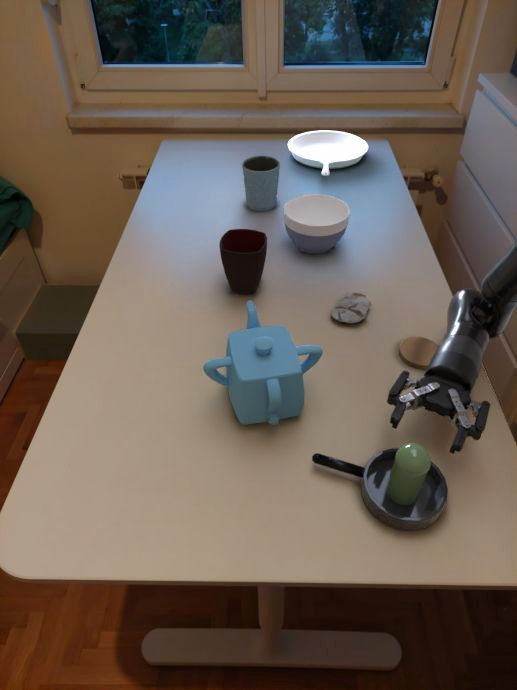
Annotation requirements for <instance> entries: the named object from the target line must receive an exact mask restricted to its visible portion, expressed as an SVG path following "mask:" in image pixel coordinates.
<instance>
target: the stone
mask: <svg viewBox="0 0 517 690" xmlns="http://www.w3.org/2000/svg"><path fill="white" fill-rule="evenodd" d="M371 306H372V302H371V300H370V299H369V298H368V297H367V295H365V294H363V293H361V292H360V293H359V292H351V293H347V294H343V295H341V296H340V297H339V299H338V302H337V303H336V304H335V306H333V307H332V308H331V310H330V315H331V317H332V318H333V319H334V320H335V321H338V322H340V323H342V322H343V323H347V324H354V323H355V324H357V323H359V322H362V320H364V319H366V318H367V316H368V313H367V312H368V310H369V309H370V307H371Z"/></svg>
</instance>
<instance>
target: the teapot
mask: <svg viewBox="0 0 517 690" xmlns="http://www.w3.org/2000/svg"><path fill="white" fill-rule="evenodd" d="M246 312H247V314H246V315H247V318H246V325H245V328H244V329H240V330H234V331H230V332H229V333H228V335H227V343H226V351H225V356H222V357H215V358H212V359H209V360H208V361H206V362H204V364H203V367H202V368H203V369H202V371H203V372H204V374H205V375H206V376H207V377H208V378H209V379H210V380H211V381H214V382H216V383H218V384H220V385H221V386H224V387H226V388H227V392H228V395H229V398H230V399H229V400H230V403H231V405H232V408H233V411H234V414H235V415H236V418H237V420H238V422H239V423H240V424H241V425H253V424H260V423H266V422H267V423H268V424H269V425H272V426H273V425H275V426H276V425H278V424H279V422H280V420H284V419H290V418H294V417H297V416H300V415H301V414H302V412H303V410H304V407H305V384H304V383H305V382H304V376H303V375H305V374H306V373H307V372H308V371H309V370H310V369H311V368H313V367H314V366H315V365H316V364H317V363H318V362H319V361H320V359H321V357H322V356H323V349H322V347H321V346H319V345H318V344H317V345H316V344H305V345H304V344H303V345H296V344H295V342H294V340H293V338H292V336H291V334H290V332H289V330H288V329H287V327H286V326H285V325H284V324H277V325H268V326H261V323H260V319H259V315H258V311H257V307H256V304H255V302H254V301H253V300H247V302H246ZM306 355H307V357H306V358H305V359H304V360H303V361H302V362H301V360H300V357H299V356H306ZM221 368H225V375H224V374H222V373H221V372H220V371H218V369H221Z"/></svg>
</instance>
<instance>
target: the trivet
mask: <svg viewBox="0 0 517 690" xmlns="http://www.w3.org/2000/svg"><path fill="white" fill-rule="evenodd" d="M438 347H439V344H437V343H436V342H435V341H433V340H431V339H429V338H426V337H423V336H411V337H408V338H405V339H404V340H402V342H401V343H400V345H399V349H398V354H399V357H400V358H401V360H402V361H403V362H404V363H405V364H406V365H408V366H410V367H412V368H414V369H418V370H419V369H420V370H426V369H427V367H428V365H429V363H430V361H431V359H432V357H433V355H434V353H435V351H436V350H437V348H438Z"/></svg>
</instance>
